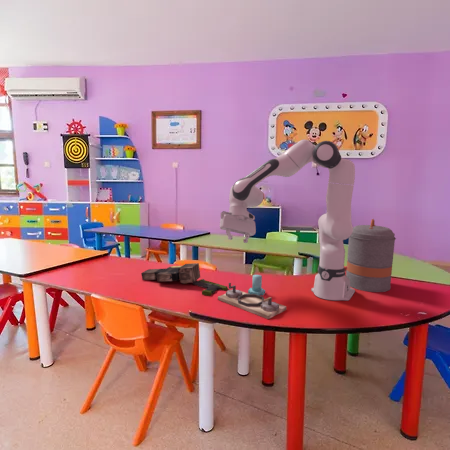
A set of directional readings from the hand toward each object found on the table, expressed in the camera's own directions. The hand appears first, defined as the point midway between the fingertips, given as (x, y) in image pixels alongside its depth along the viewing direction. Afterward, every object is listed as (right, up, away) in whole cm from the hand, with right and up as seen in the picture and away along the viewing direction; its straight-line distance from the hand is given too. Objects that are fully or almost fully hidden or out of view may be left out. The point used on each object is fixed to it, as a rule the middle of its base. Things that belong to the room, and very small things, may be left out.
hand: (238, 241), depth 159 cm
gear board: (+5, -27, -17) cm, 32 cm away
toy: (-35, -22, +14) cm, 44 cm away
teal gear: (+9, -25, -3) cm, 27 cm away
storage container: (+69, -24, +12) cm, 74 cm away
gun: (-16, -24, +3) cm, 29 cm away
